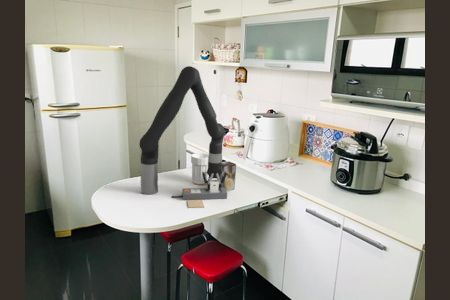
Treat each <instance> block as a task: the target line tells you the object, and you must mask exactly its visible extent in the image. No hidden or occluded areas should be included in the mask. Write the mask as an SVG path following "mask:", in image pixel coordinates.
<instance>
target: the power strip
mask: <svg viewBox="0 0 450 300" xmlns="http://www.w3.org/2000/svg"><path fill="white" fill-rule="evenodd" d="M181 190H182V192H181V195H171V198H172V199H173V198H178V199H179V198H182V201H187V200H202V201H203V200H204V201H207V200H227V199H228V191H227V192H226V190H225V188H220V189H219V190H218V193H209V190H208V189H207V187H197V188H196V187H191V188H190V187H189V188H187V187H186V188H182V189H181Z"/></svg>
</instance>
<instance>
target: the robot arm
mask: <svg viewBox="0 0 450 300" xmlns="http://www.w3.org/2000/svg"><path fill="white" fill-rule="evenodd" d="M189 90H191V92H192V94H193V96H194V99H195V102H196V105H197V108H198V110H199V112H200V115H201V117H202V118H203V120H204V124H205V127H206V131H207V133H208V135H209V136H210V138H211V141H210V142H209V147H208V170H207V172H202V175H203V179H204V182H205V183H206V188H207V189H208V190H210V182H211V180H214V179H216V180H218V182H219V188H218V190H219V189H220V184H221V183H224V181H225V178H226V175H227V173H226V172H223V171H222V170H221V169H222V163H223V142H224V139H225V138H224V137H225V128H224V127H225V126H224V125H223V124H222V123H219V122H218V120H217V113H216V111H215V109H214V107H213V105H212V103H211V101H210V99H209V96H208V95H207V93H206V89H205V88H204V85H203V82H202V78H201V75H200V72H199V70H198V69H197V68H196V67H194V66H189V65H187V66H185V67H183V68H182V69H181V71H180V73H179V75H178V76H177V80H176V81H175V83H174V85H173V86H172V88H171V90H170V91H169V93H168V94H167V96H166V98H165V99H164V100H163V101H162V104H160V106H159V109H158V111H157V112H156V114H155V116H154V119H153V120H152V123H151V125H150V127H149V128H148V130H147V131H146V132H145V134H144V135H143V136H141V138H140V140H139V149H140V150H141V154H140V194H143V193H144V195H153V194H154V195H155V194H157V193H158V192H159V188H158V187H159V185H158V184H159V178H158V177H159V170H158V169H159V165H158V164H159V162H158V161H159V141H160V139H161V137H162V135H164V132H165V131H166V130H167V128H169V126H170V124H171V123H172V122H173V121H174V120H175V118H176V116H177V114H178V113H179V111H180V110H181V107H182V104H183V101H184V99H185V97H186V95H187V93H188V92H189ZM206 174H208V175H207V180H206V177H205V176H206ZM221 174H222V175H223V176H222V179H221V180H220V178H219V176H220V175H221Z"/></svg>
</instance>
